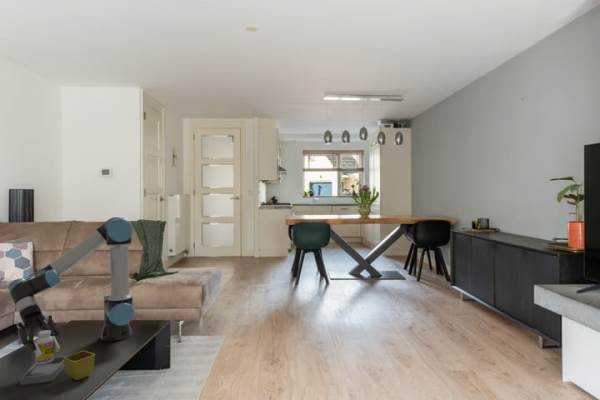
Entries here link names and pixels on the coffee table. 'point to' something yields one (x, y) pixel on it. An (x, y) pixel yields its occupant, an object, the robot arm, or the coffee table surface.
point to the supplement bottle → (45, 347)
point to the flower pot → (79, 364)
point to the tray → (43, 372)
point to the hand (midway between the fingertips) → (49, 352)
